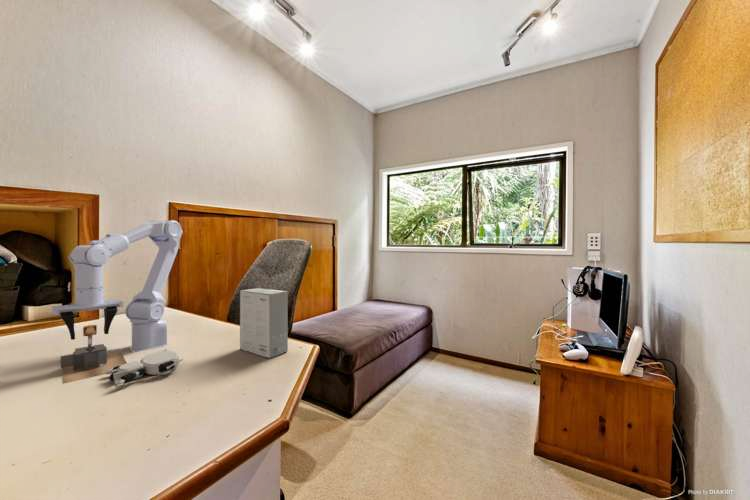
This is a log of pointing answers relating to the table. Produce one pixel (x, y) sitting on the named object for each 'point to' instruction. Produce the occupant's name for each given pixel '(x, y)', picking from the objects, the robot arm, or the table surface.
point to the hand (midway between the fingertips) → (90, 336)
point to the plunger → (89, 333)
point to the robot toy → (145, 367)
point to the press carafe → (86, 358)
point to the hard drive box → (264, 321)
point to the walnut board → (112, 362)
